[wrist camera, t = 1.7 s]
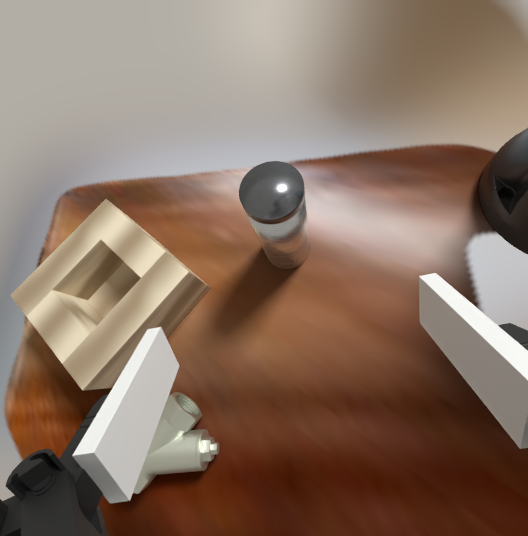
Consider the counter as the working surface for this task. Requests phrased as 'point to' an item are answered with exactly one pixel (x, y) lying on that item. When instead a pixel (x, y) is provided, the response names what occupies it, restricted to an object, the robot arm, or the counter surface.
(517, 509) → the counter surface
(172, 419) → the pipe fitting
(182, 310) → the socket block
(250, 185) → the capped cylinder
